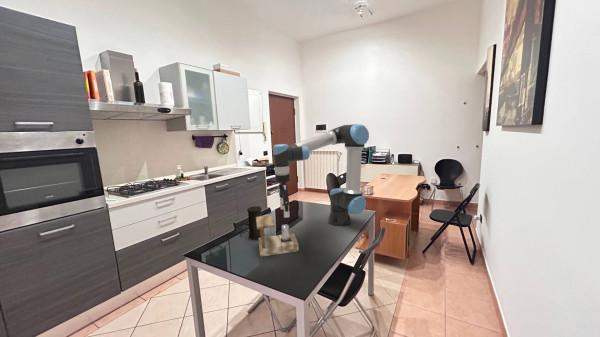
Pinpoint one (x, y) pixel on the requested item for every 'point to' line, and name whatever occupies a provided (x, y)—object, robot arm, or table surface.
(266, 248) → the socket station
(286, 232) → the peg
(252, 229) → the container
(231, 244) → the table surface
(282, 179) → the robot arm
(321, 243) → the table surface
